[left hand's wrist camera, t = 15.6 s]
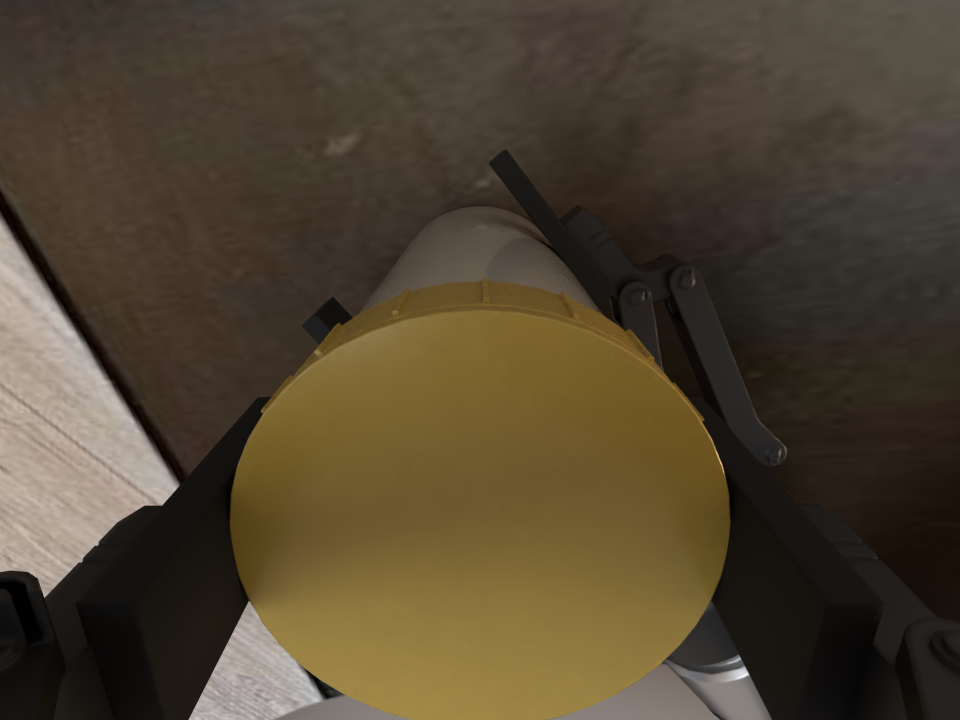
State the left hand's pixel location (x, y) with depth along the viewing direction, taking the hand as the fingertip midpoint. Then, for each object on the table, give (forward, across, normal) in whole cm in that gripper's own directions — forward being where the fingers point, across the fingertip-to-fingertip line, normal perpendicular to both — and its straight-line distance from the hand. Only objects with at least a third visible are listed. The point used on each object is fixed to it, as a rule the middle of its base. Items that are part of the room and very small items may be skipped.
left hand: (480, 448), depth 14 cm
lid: (-3, 0, 0) cm, 3 cm away
